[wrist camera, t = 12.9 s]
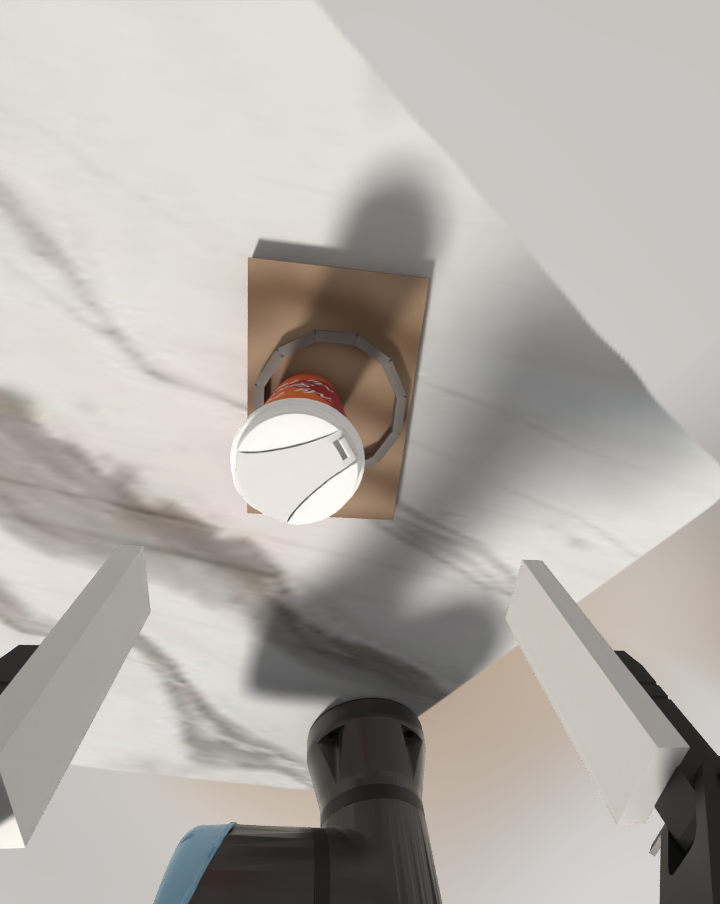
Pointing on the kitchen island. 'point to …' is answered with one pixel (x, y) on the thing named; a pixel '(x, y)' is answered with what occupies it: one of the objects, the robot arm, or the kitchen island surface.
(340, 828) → the robot arm
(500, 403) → the kitchen island surface
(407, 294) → the seat board
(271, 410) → the paper cup
